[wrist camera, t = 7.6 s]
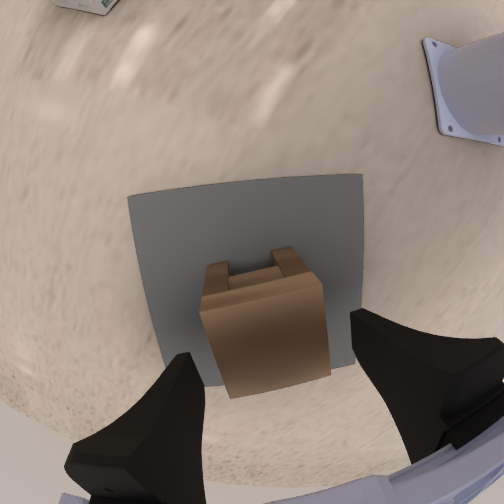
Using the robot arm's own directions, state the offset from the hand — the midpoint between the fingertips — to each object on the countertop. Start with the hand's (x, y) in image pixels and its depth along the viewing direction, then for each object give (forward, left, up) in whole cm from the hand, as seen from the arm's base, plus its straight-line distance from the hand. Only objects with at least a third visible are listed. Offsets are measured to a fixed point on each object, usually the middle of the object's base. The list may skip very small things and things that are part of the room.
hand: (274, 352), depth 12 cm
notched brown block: (0, 0, -6) cm, 6 cm away
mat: (0, 0, -7) cm, 6 cm away
